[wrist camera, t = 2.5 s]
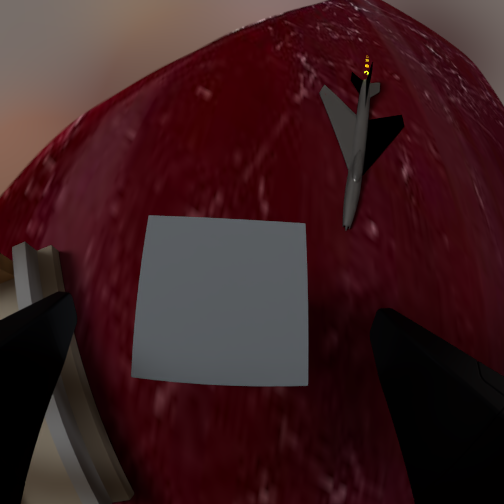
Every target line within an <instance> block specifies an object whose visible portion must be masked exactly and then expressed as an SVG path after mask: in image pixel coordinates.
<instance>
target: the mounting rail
mask: <svg viewBox="0 0 504 504" xmlns="http://www.w3.org/2000/svg"><path fill="white" fill-rule="evenodd" d="M12 253H13V261H11V260H10V259H8V258H7V257H5V256H4V255H2V254H1V253H0V320H1V319H3V318H5V317H7V316H9V315H11V314H13V313H15V312H17V311H19V310H21V309H23V308H25V307H27V306H29V305H31V304H33V303H35V302H37V301H39V300H41V299H43V298H45V297H47V296H49V295H51V294H54V293H56V292H58V291H61V292H65V289H64V283H63V278H62V272H61V265H60V259H59V251H58V250H57V249H55V248H54V247H53V246H52V245H50V246H48V247H46V248H43V249H41V250H38V251H36V250H35V249H34V248H32V247H31V246H30V245H28V244H27V243H26V242H23V243H21V244H19V245H16V246H14V247H12ZM133 495H134V492H133V490H132V488H131V486H130V484H129V482H128V480H127V478H126V476H125V474H124V472H123V470H122V467H121V465H120V463H119V461H118V459H117V457H116V454H115V452H114V450H113V447H112V445H111V443H110V440H109V438H108V436H107V433H106V431H105V428H104V426H103V423H102V420H101V418H100V415H99V412H98V410H97V407H96V404H95V401H94V399H93V396H92V393H91V390H90V387H89V384H88V380H87V377H86V374H85V371H84V367H83V364H82V361H81V357H80V354H79V350H78V346H77V342H76V339H75V335H74V333H73V336H72V340H71V343H70V346H69V350H68V353H67V357H66V360H65V363H64V366H63V368H62V371H61V374H60V376H59V379H58V381H57V384H56V387H55V389H54V392H53V395H52V397H51V400H50V403H49V406H48V409H47V411H46V414H45V417H44V420H43V423H42V426H41V429H40V433H39V436H38V439H37V442H36V446H35V449H34V452H33V456H32V460H31V463H30V467H29V471H28V475H27V478H26V482H25V487H24V492H23V496H22V501H21V504H112V502H119V501H126V500H130V499H131V498H132V496H133Z"/></svg>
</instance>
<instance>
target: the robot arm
mask: <svg viewBox="0 0 504 504" xmlns="http://www.w3.org/2000/svg"><path fill="white" fill-rule="evenodd" d="M76 324H77V314H76V310H75V306H74V302H73V298H72V295H71V294H70V293H69V292H61V291H58V292H56V293H54V294H51V295H49V296H47V297H45V298H43V299H41V300H39V301H37V302H35V303H33V304H31V305H29V306H27V307H25V308H23V309H21V310H19V311H17V312H15V313H13V314H11V315H9V316H7V317H5V318H3V319H1V320H0V504H21V501H22V496H23V492H24V487H25V482H26V478H27V475H28V471H29V467H30V463H31V460H32V456H33V452H34V449H35V446H36V442H37V439H38V436H39V433H40V429H41V426H42V423H43V420H44V417H45V414H46V411H47V409H48V406H49V403H50V400H51V397H52V395H53V392H54V389H55V387H56V384H57V381H58V379H59V376H60V374H61V371H62V368H63V366H64V363H65V360H66V357H67V353H68V350H69V346H70V343H71V340H72V336H73V333H74V330H75V327H76ZM370 340H371V345H372V349H373V353H374V358H375V362H376V367H377V371H378V376H379V380H380V383H381V386H382V389H383V392H384V395H385V398H386V401H387V405H388V408H389V411H390V414H391V417H392V421H393V424H394V427H395V431H396V434H397V437H398V441H399V444H400V448H401V451H402V455H403V458H404V462H405V466H406V469H407V473H408V477H409V481H410V485H411V489H412V493H413V497H414V502H415V504H504V376H502V375H500V374H499V373H497V372H495V371H494V370H492V369H490V368H489V367H487V366H485V365H484V364H482V363H481V362H479V361H478V362H477V360H476V359H474V358H472V357H471V356H469V355H468V354H466V353H464V352H463V351H461V350H459V349H458V348H456V347H455V346H453V345H451V344H450V343H448V342H446V341H445V340H443V339H442V338H440V337H438V336H437V335H435V334H433V333H432V332H430V331H428V330H427V329H425V328H423V327H422V326H420V325H418V324H417V323H415V322H413V321H412V320H410V319H408V318H407V317H405V316H403V315H402V314H400V313H398V312H397V311H395V310H393V309H391V308H380V309H379V310H378V311H377V312H376V315H375V318H374V321H373V324H372V327H371V330H370Z"/></svg>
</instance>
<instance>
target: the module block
mask: <svg viewBox="0 0 504 504" xmlns="http://www.w3.org/2000/svg"><path fill="white" fill-rule="evenodd" d="M131 377H136V378H143V379H152V380H161V381H171V382H182V383H195V384H211V385H232V386H308V285H307V253H306V229H305V224H304V223H289V222H274V221H257V220H240V219H221V218H200V217H176V216H149V218H148V224H147V230H146V236H145V243H144V249H143V256H142V263H141V271H140V279H139V287H138V296H137V306H136V316H135V327H134V340H133V354H132V372H131Z"/></svg>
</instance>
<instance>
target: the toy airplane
mask: <svg viewBox="0 0 504 504" xmlns="http://www.w3.org/2000/svg"><path fill="white" fill-rule="evenodd" d="M366 60H367V59H366ZM368 61H369V60H368ZM365 66H366V65H365ZM372 66H373V62H372V65H371V68H370V71H369V74H368V77H367V80H366V79H365V80H361V79H360V78H359V77H357V76H356V75H355V74H354V73H353V72H352V76H351V81H352V83H353V85H354V86H355V88H356V89H357V91H358V92H359V100H358V108H357V116H356V114H355V113H354V112H353V111H352V110H351V109H350V108H349V107H347V106H346V105H345V104H344V103H343V102H342V101H341V100H340V99H339V98H338V97H337V96H336V95H335V94H334V93H333V92H332V91H331V90H330V89H329V88H328V87H326V86H325V85H324V87H323V88H322V90H321V91H320V96H321V98H322V100H323V103H324V105H325V108H326V110H327V113H328V115H329V118H330V120H331V123H332V126H333V128H334V131H335V134H336V136H337V139H338V142H339V144H340V147H341V150H342V153H343V156H344V159H345V161H346V164H347V167H348V170H349V171H348V177H347V183H346V189H345V197H344V207H343V226H344V225H346V230H347V227H348V226H349V229H350V227H351V224H352V222H353V219H354V215H355V212H356V208H357V204H358V200H359V195H360V189H361V182H362V175H363V174H364V173H365V172H366V171H367V169H368V168H369V167H370V166H371V165H372V164H373V162H374V161H375V160H376V159H377V158H378V157H379V155H380V154H381V153H382V152H383V151H384V150H385V148H386V147H387V146H388V145H389V144H390V142H391V141H392V140H393V139H394V138H395V136H396V135H397V134H398V133H399V132H400V131H401V129H402V128H403V127H404V123H403V118H402V115H397V116H390V117H384V118H378V119H372V120H368V119H369V105H370V97H372V96H374V95H375V94H377V93H379V92H380V83H370V80H371V74H372ZM368 67H369V66H368ZM365 72H367V71H365ZM365 72H364V73H365Z"/></svg>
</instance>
